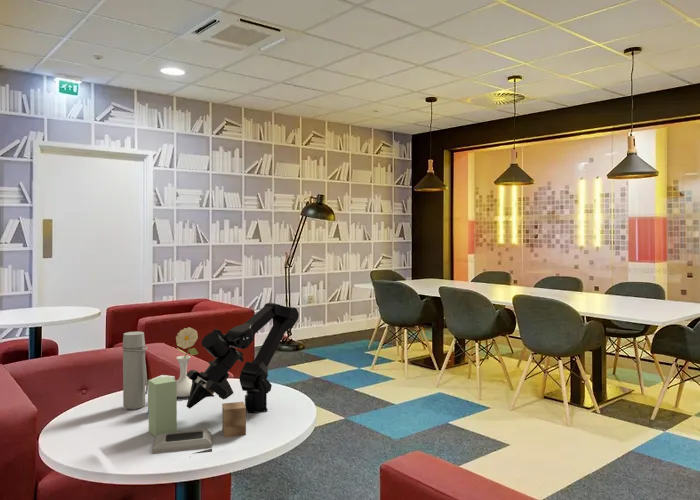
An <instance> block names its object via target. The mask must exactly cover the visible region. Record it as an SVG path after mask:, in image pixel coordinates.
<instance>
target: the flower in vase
mask: <svg viewBox="0 0 700 500" xmlns="http://www.w3.org/2000/svg"><path fill="white" fill-rule="evenodd" d="M198 335H199V334H198V331H197V330H196V329H194V328H193V327H189V326H188V327H187V328H186V327H184V328H183V329H181V330H179V332H178V333H177V335H176V336H175V340H176V346H177V347H176V349H177V350H178V351H180V352H181V353H184V354H185V355H180V356H176V358H175V359H176V360H177V362H178V364H179V368H180V369H179V378H178V379H177V380H176V381H177V398H178V397H179V398H185V397H189V395H190V391H191V386H192V380H191V379H190V378H189V377H188V376H186V375H187V373H188V372H187V371H188V363H189V360H190V359H191V356H195V355H198V354H199V352H198V351H197V350H198V349H196V348H195V347H193V346H194V345H195V343H196V342H197V341H198V338H199V336H198ZM178 347H179V348H178ZM191 347H192V348H191ZM180 348H182V349H188V350H187V352H185V351H184V350H181V349H180ZM188 353H189V354H190V355H188Z"/></svg>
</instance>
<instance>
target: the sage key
mask: <svg viewBox="0 0 700 500" xmlns="http://www.w3.org/2000/svg"><path fill="white" fill-rule="evenodd" d="M147 382H148V392H147V402H148V401H149V414H148V432H149V433H150V434H152V436H154V438H155V437H156V436H158V435H161V434H163V433H174V432H178V431H177V428H178V427H177V425H178V423H177V422H178V420H177V418H178V413H177V412H178V411H177V404H178V403H177V401H178V399H177V398H178V397H177V380H176V379H175V380H174V379H172V378H170V377H163V378H157V379H153V378H151V379H147Z"/></svg>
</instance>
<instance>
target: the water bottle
mask: <svg viewBox="0 0 700 500" xmlns="http://www.w3.org/2000/svg"><path fill="white" fill-rule="evenodd" d="M121 347H122V348H121V349H122V389H123V390H122V392H123V393H122V398H123V400H122V405H123V406H122V407H123V408H124V409H126V410H138V409H141V408H143V407H145V406H146V395H148V373H147V364H146V363H147V362H146V350H148V349H149V347H148V346H147V345H146V339H145V332H143V331H128V332H124V333H123V337H122V346H121Z"/></svg>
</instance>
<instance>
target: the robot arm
mask: <svg viewBox="0 0 700 500" xmlns="http://www.w3.org/2000/svg"><path fill="white" fill-rule="evenodd" d="M299 317H300V313H299V311H298V309H297V308H296V307H294V306H287V305H286V306H285V305H281V304H279V303H277V302H275V303H274V302H267V303H265V304H264V305H263V307H262V308H261V309H259V311H257V312H256V313H254V315H252V316H251V317H250V318H248V320H247V321H246V322H244V323H242V324H240V325H237V326H236V325H235V326H234V327H233V328H230V329H229V330H228V331H227V332H226V333H225V334H223V333H222V331H221V330H220V329H216V328H215V329H213V331H211V332H209V333H207V334H206V335H205V336H204V337H203V338H202V340H201V346H202V347H203V349H205V350H206V351H207V352H208V353H209V354H210V355H211V356H213V358H214V360H209V362H207V363H208V365H209V366H208V367H207V368H206V369H205V370H204V372H203V371H200V372H199V371H197V370H195V369H190V370H188V372H187V375H186V376H187V377H188V378H189V379H190V380H191V381H192V386H191V391H190V395H189V396H188V399H187V402H186V407H187V408H188V409H191V408H193V407H194V406H196V405H198V404H199V403H200V402H201V401H203V400H204V399H205V398H210V397H211V398H213V397H215V395H214V394H216V395H217V396H218V397H219V398H220V399H222V400H227V399H228V398H229V397H230V396H232V395H233V394H234V391H233V388H232V387H231V384H230V383H229V381H228V379H229V376H230V373H229V372H230V371H231V369H232V367H233V366H234V365H235V364H236V363H237V361H240V362H242V363H243V362H244V352H241V351H239V350H238V351H237V349H240V350H245V349H248V348H249V346H250V345H251V344H252V343H253V341H254V339H255V335H256V334H257V333H258V332H259V331H260V330H261V329H262V328H264V327H265V326H266V325H267V324H268V323H269V322H270V321H271V320H272V326H271V328H270V330H269V332H268V334H267V335H266V338H265V340H264V341H263V343H262V345H261V347H260V349H259V351H258V352H257V354H256V355H255V356H256V357H255V358H254V359H253V360H252V361H251V362H250V361H246V362H245V363H244V365H243V367H242V369H241V370H240V374H239V380H238V381H239V383H240V387H241V390H242V391H244V392H246V393H245V394H246V395H244V405H245V407H246V413H249V414H251V413H260V412H267V411H269V410H268V406H267V405H268V404H267V402H268V401H267V396H268V395H267V394H269V392H271V390H272V387H273V385H272V384H271V382H270V381H269V380H268V377H269V372H268V367H269V365H270V363H271V360H272V359H273V358H274V357H273V356H274V354H275V353H276V351H277V349H278V347H279V345H280V343H281V341H282V339H283V338H284V336H285V334H286V332H287V331H289V330H291V329H292V328H293V327H294V326H295V325H296V323H297V322H298V320H299Z"/></svg>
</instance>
